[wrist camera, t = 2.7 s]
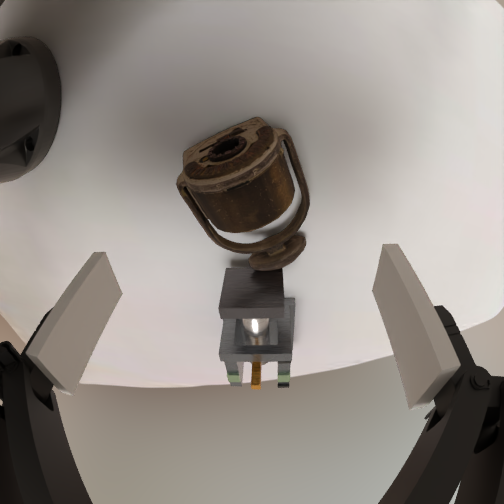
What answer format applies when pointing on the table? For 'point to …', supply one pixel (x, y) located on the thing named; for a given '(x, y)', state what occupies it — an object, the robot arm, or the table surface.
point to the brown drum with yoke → (246, 190)
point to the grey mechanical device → (253, 305)
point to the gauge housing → (259, 346)
